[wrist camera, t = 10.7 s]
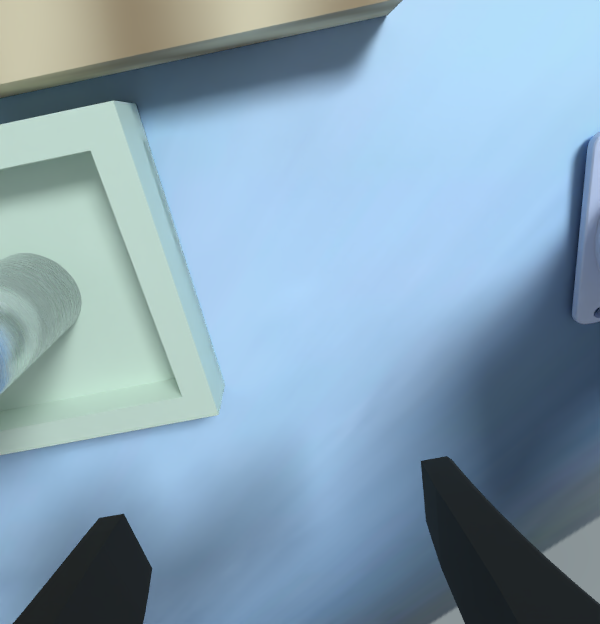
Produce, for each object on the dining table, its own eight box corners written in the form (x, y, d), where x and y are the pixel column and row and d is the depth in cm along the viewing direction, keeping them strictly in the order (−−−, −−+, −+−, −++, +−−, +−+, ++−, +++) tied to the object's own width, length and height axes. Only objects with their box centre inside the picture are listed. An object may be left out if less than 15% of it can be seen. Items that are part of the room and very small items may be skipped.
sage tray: (135, 103, 15) (113, 100, 13) (224, 385, 20) (218, 414, 18) (-188, 172, 15) (-260, 179, 13) (-21, 430, 20) (-54, 465, 18)
